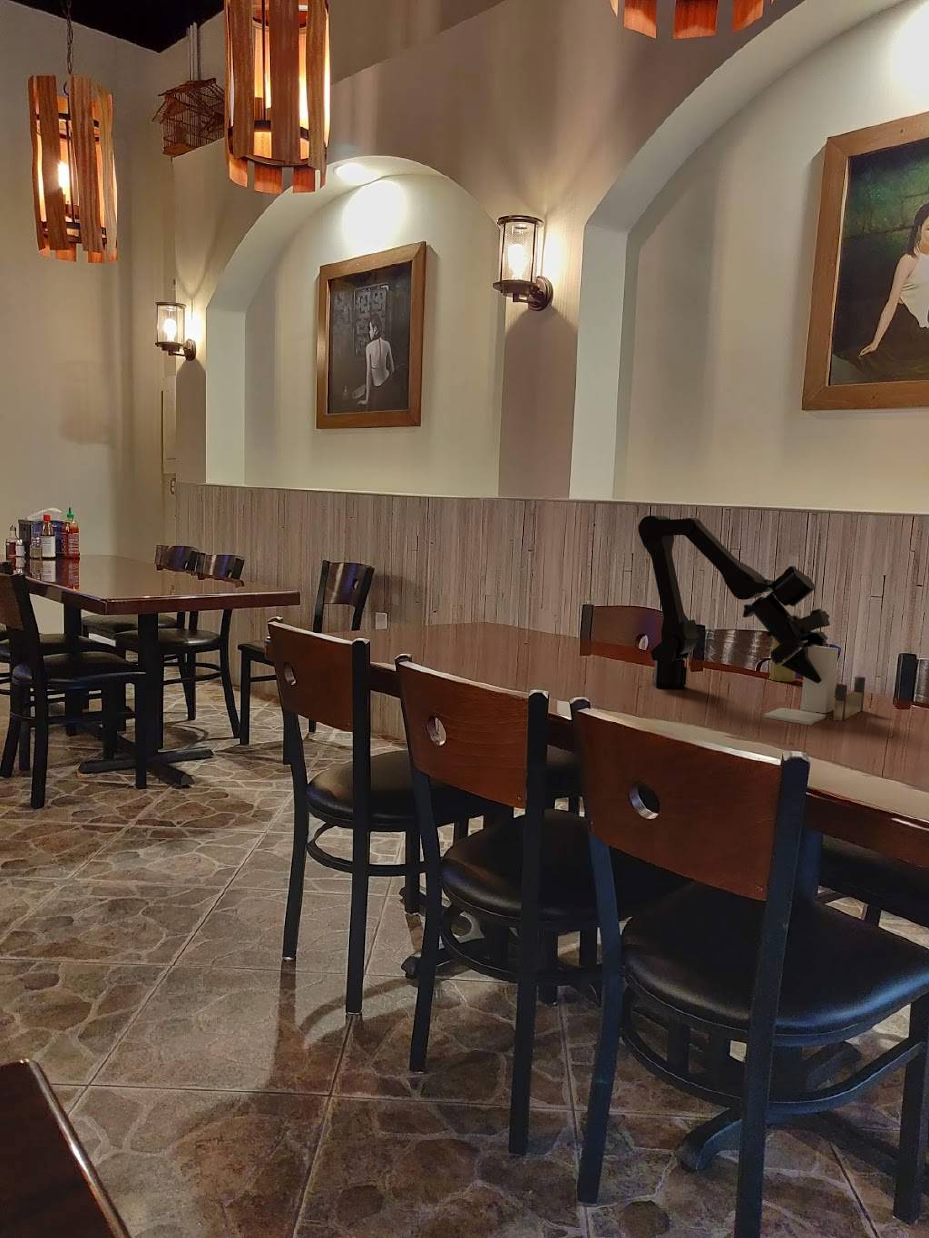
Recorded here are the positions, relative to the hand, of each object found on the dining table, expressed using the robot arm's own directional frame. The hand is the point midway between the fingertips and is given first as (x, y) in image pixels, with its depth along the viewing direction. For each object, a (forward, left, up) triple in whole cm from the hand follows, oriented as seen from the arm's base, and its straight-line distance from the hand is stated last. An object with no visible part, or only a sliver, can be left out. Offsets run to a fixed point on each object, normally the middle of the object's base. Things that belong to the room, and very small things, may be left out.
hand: (826, 679), depth 191 cm
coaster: (-8, -7, -7) cm, 13 cm away
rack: (+4, -3, -7) cm, 8 cm away
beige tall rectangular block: (-1, +1, -7) cm, 7 cm away
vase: (+2, +35, -7) cm, 36 cm away
